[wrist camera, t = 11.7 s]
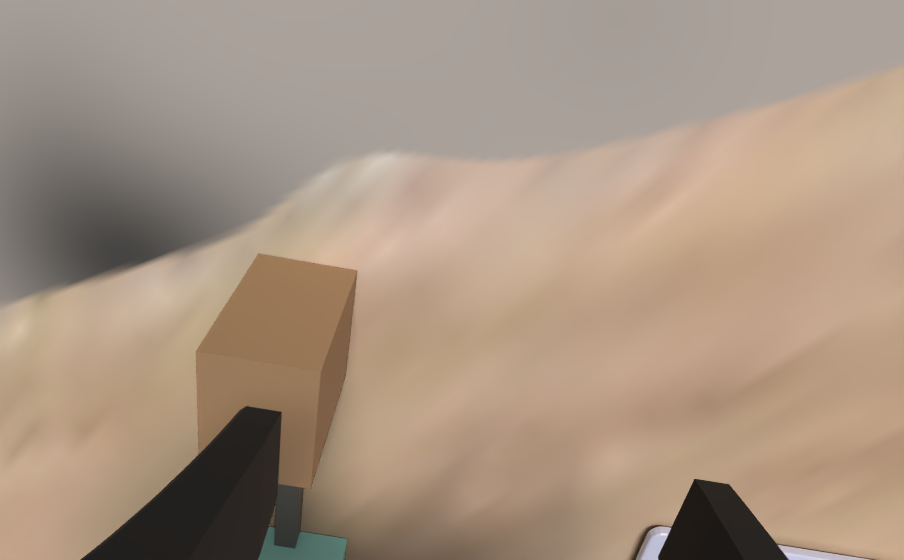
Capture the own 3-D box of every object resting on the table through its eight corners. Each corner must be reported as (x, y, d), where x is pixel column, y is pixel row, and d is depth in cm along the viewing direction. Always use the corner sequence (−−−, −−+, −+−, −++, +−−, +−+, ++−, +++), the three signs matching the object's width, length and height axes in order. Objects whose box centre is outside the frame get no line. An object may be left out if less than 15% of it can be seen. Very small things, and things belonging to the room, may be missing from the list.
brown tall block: (381, 274, 21) (351, 376, 17) (337, 617, 29) (309, 744, 25) (233, 249, 21) (164, 346, 16) (231, 601, 29) (185, 725, 25)
